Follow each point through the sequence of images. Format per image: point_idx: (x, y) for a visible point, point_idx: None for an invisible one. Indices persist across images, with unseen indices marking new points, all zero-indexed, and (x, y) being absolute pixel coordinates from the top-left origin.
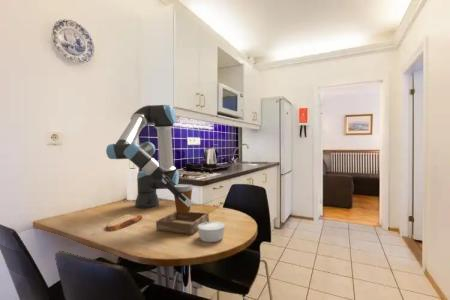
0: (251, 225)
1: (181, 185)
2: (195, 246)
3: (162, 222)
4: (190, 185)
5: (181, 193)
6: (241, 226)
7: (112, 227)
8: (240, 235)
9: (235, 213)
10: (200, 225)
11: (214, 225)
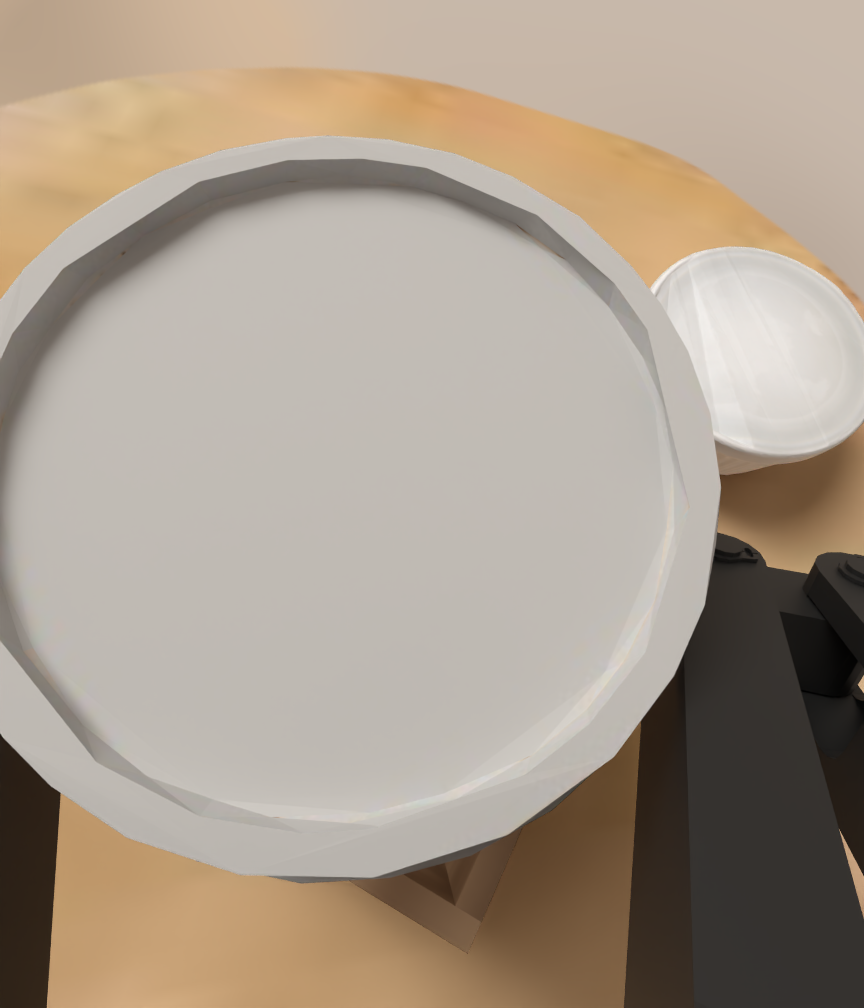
0: (492, 104)
1: (101, 485)
2: (841, 520)
3: (510, 850)
4: (276, 186)
5: (738, 541)
6: (497, 164)
7: None
8: (674, 217)
9: (134, 112)
10: (755, 430)
11: (762, 320)
